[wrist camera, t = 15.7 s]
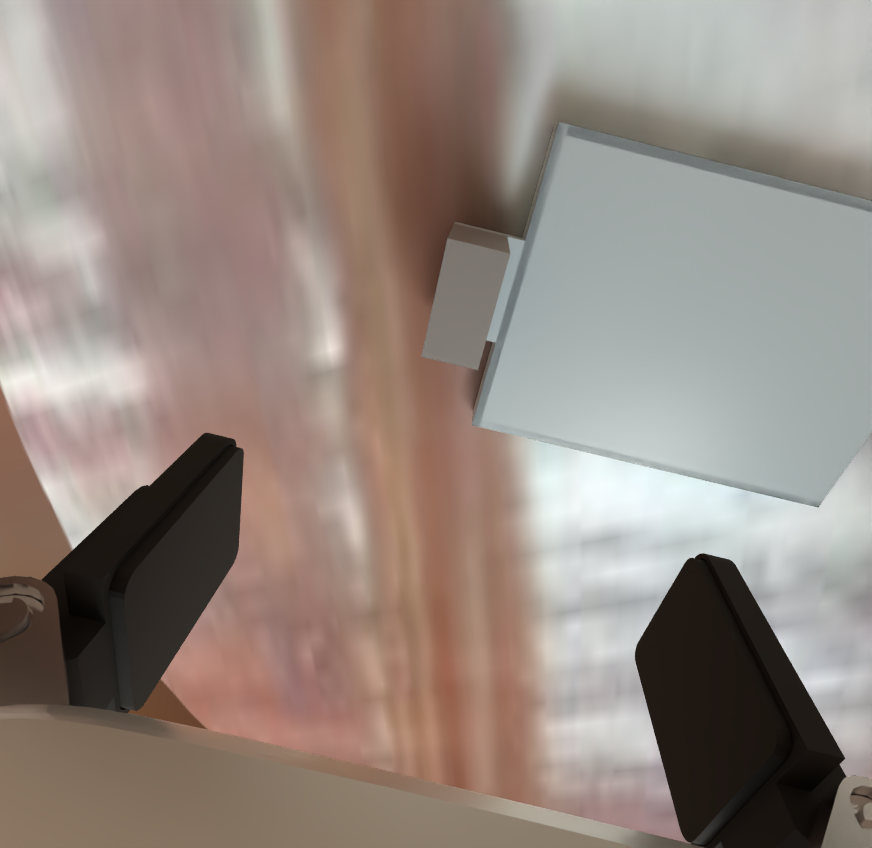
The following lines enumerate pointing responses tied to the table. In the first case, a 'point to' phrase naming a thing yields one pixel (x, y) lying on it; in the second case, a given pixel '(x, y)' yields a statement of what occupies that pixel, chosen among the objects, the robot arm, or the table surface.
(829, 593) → the table surface
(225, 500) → the robot arm
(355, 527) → the table surface
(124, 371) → the table surface
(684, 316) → the lid
